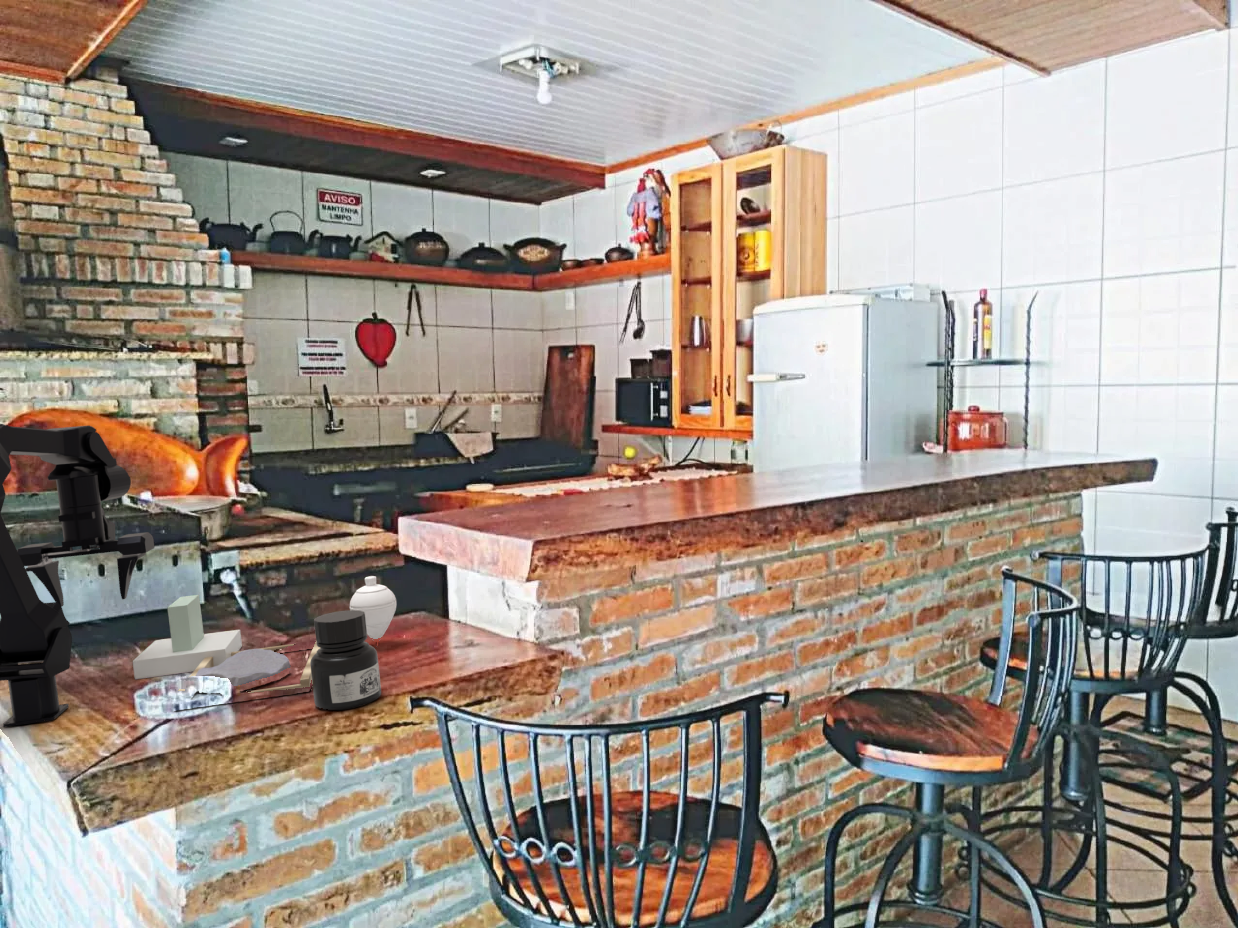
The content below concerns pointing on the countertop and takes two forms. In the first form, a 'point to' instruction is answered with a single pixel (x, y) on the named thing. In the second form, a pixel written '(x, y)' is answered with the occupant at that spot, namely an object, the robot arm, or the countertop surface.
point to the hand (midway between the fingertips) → (92, 602)
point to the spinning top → (374, 606)
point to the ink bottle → (344, 662)
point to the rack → (304, 683)
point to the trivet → (185, 655)
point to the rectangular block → (185, 623)
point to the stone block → (248, 666)
